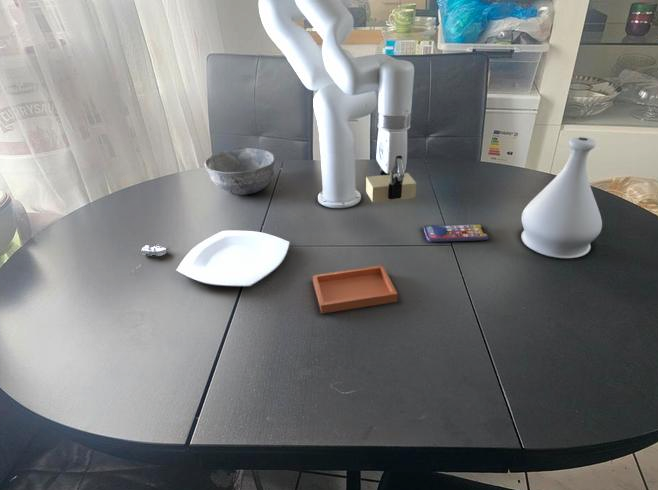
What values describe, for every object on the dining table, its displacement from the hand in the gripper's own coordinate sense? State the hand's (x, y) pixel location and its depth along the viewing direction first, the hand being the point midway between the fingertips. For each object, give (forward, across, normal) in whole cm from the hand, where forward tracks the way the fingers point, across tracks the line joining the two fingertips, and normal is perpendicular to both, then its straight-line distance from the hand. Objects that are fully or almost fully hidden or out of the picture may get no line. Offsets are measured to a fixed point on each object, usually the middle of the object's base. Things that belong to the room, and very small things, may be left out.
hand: (390, 191), depth 112 cm
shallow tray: (+9, +27, -16) cm, 32 cm away
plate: (+10, +9, -40) cm, 42 cm away
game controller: (+10, +3, -61) cm, 62 cm away
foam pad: (+1, 0, 0) cm, 1 cm away
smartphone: (+9, +10, +14) cm, 20 cm away
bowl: (+11, -32, -37) cm, 50 cm away
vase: (+9, +19, +36) cm, 42 cm away
